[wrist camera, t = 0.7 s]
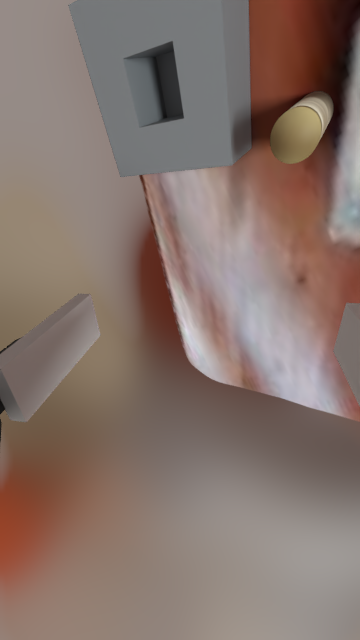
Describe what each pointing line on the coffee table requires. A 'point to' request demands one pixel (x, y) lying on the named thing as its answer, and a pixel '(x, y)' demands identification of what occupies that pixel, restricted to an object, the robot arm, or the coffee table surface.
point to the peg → (301, 128)
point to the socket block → (169, 80)
